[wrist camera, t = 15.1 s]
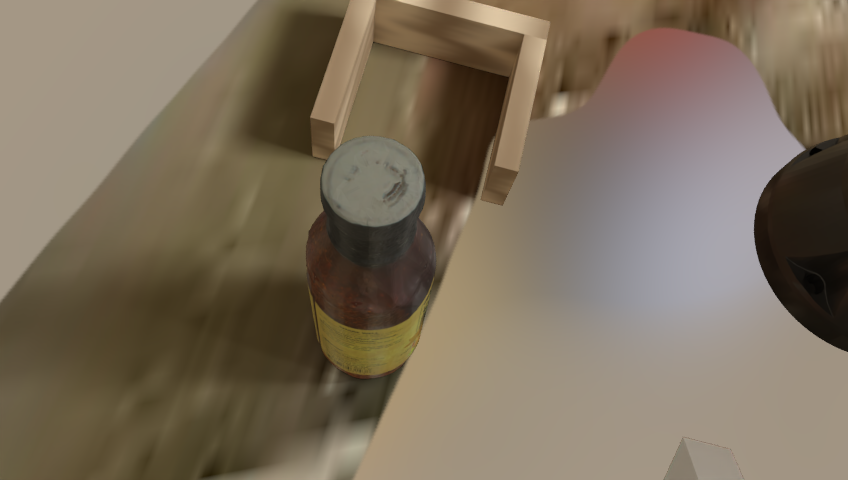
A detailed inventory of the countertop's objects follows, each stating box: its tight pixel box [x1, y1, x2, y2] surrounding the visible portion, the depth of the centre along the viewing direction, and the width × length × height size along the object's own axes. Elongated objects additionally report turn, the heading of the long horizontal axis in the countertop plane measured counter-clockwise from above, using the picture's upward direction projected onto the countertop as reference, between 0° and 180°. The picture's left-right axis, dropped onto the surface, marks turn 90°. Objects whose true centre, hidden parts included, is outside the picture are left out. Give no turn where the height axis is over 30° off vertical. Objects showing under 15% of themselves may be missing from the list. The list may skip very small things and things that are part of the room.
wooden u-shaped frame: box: [310, 0, 550, 205], centre depth 51 cm, size 13×12×5 cm
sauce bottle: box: [306, 136, 436, 379], centre depth 38 cm, size 6×6×20 cm
